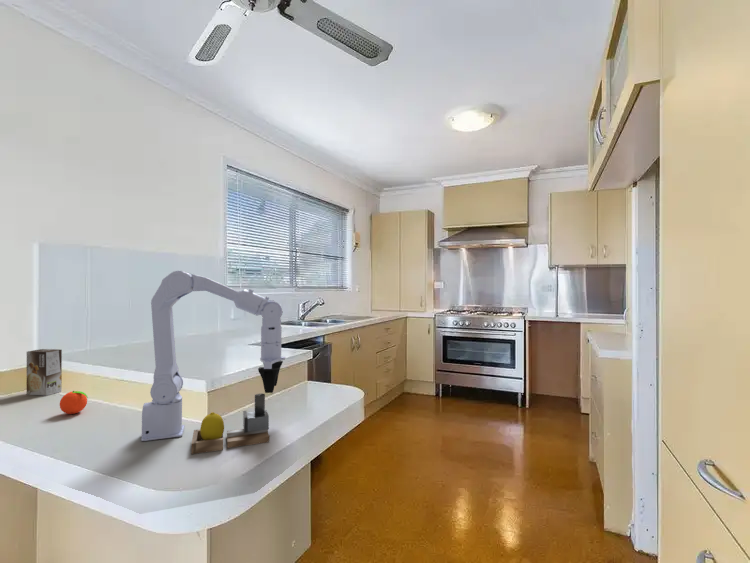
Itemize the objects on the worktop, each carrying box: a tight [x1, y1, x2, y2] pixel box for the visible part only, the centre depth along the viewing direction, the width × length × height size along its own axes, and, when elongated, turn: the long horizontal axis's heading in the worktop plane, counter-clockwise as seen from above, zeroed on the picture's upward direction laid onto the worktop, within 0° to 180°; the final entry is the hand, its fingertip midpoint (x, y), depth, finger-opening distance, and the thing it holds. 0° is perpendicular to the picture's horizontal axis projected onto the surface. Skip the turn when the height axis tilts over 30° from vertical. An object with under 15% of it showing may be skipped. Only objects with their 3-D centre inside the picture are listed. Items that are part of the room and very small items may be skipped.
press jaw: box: [242, 393, 270, 433], centre depth 103 cm, size 6×6×8 cm
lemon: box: [200, 411, 225, 441], centre depth 99 cm, size 6×6×8 cm
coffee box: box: [26, 348, 63, 396], centre depth 147 cm, size 9×6×16 cm
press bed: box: [226, 428, 270, 449], centre depth 102 cm, size 10×8×2 cm
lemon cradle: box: [190, 429, 224, 455], centre depth 98 cm, size 7×10×2 cm
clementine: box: [59, 390, 89, 415], centre depth 123 cm, size 8×7×7 cm
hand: (270, 389), depth 114 cm, fingers open, 7 cm apart
